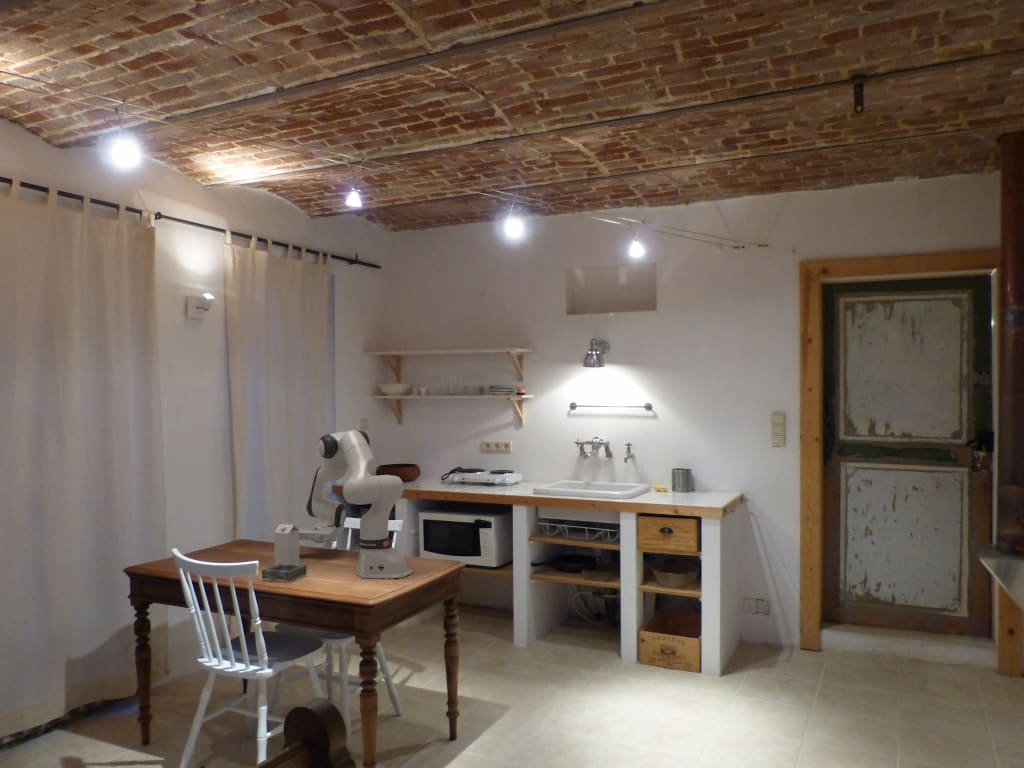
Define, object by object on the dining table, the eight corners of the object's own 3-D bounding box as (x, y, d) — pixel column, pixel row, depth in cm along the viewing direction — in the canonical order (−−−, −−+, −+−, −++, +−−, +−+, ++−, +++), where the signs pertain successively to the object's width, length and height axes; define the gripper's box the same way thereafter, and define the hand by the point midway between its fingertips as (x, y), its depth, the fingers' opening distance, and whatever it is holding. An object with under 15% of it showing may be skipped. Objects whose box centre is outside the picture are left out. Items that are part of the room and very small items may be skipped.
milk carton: (285, 565, 322) (285, 520, 323) (299, 566, 320) (299, 520, 320) (274, 568, 315) (274, 522, 316) (288, 569, 313) (288, 523, 313)
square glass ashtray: (306, 575, 302) (306, 565, 303) (289, 582, 291) (289, 572, 291) (280, 573, 306) (280, 563, 306) (262, 580, 294) (262, 570, 294)
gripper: (299, 524, 345) (281, 529, 332) (339, 526, 340) (323, 531, 326) (299, 538, 345) (281, 544, 332) (339, 540, 340) (323, 546, 326)
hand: (302, 538), depth 329 cm, fingers open, 8 cm apart
